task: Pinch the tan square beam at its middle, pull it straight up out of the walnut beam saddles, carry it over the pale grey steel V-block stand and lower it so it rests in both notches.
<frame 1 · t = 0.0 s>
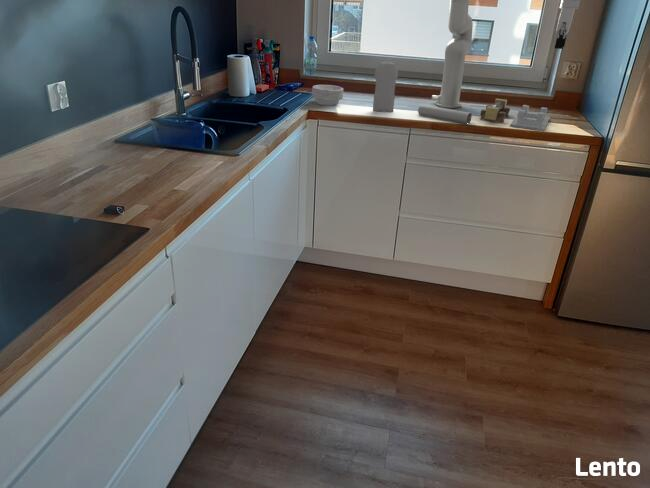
hand: (559, 47, 223), 31 cm above the worktop, tool pointing down, fingers open, 9 cm apart
tall pale column: (382, 111, 238), on the worktop
v block stand: (530, 122, 229), on the worktop
beam saddles: (494, 117, 235), on the worktop
tube: (442, 119, 229), on the worktop
tan square beam: (494, 114, 234), point 2 cm above the worktop, touching beam saddles
paper bowls: (327, 104, 249), on the worktop
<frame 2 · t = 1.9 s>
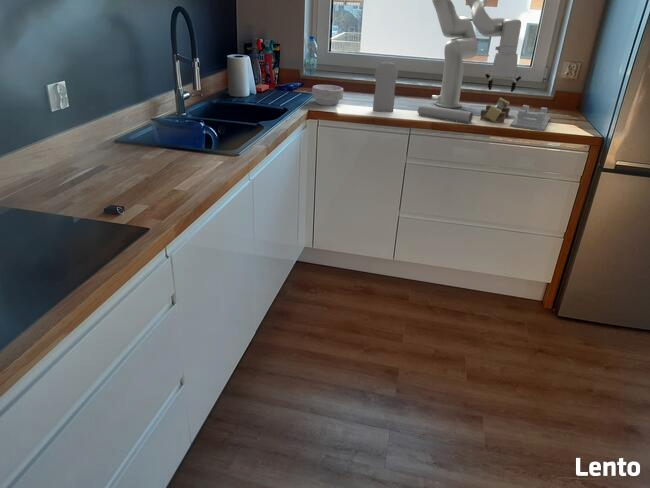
hand: (500, 90, 229), 12 cm above the worktop, tool pointing down, fingers open, 9 cm apart
tan square beam: (494, 114, 234), point 2 cm above the worktop, tilted 21°, touching beam saddles
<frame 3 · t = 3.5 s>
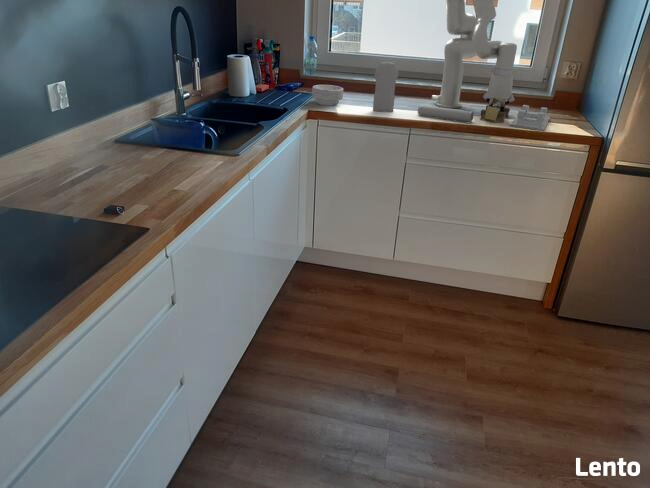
hand: (495, 113, 234), 2 cm above the worktop, tool pointing down, fingers closed on tan square beam, 4 cm apart
tan square beam: (494, 114, 234), point 2 cm above the worktop, tilted 6°, touching beam saddles, gripper
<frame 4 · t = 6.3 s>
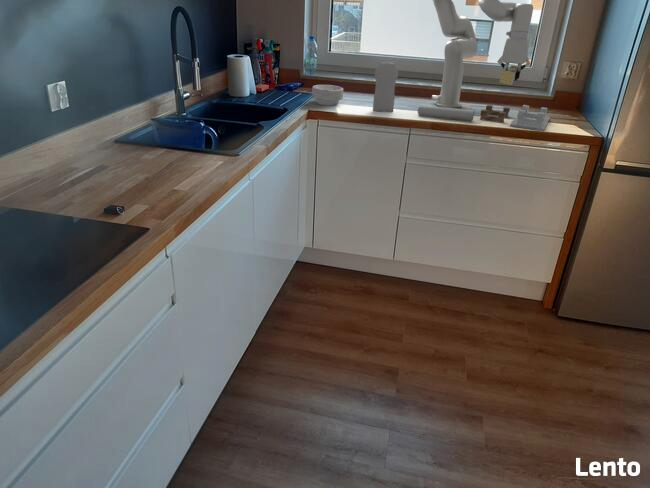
hand: (510, 79, 225), 18 cm above the worktop, tool pointing down, fingers closed on tan square beam, 4 cm apart
tan square beam: (509, 80, 226), point 17 cm above the worktop, tilted 5°, touching gripper
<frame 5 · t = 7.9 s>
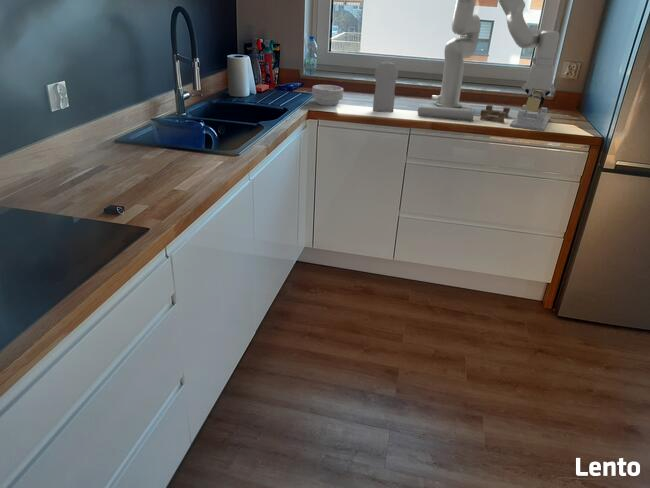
hand: (534, 104, 225), 8 cm above the worktop, tool pointing down, fingers closed on tan square beam, 4 cm apart
tan square beam: (533, 105, 225), point 8 cm above the worktop, tilted 6°, touching gripper
when the fingers open (4 cm above the worktop, at t = 9.0 s): tan square beam drops 1 cm, resting on v block stand.
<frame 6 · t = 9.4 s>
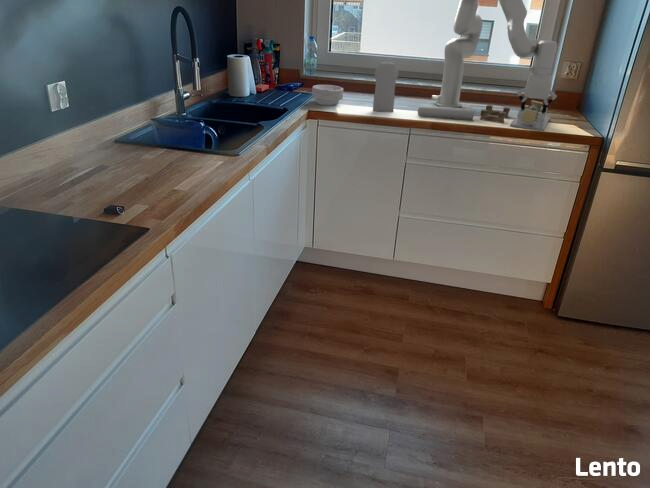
hand: (532, 112, 227), 5 cm above the worktop, tool pointing down, fingers open, 8 cm apart
tan square beam: (530, 116, 228), point 3 cm above the worktop, tilted 7°, touching v block stand
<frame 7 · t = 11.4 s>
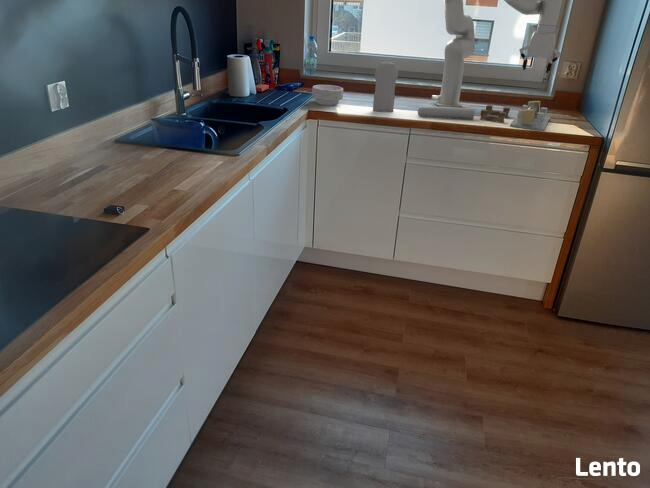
hand: (535, 71, 223), 22 cm above the worktop, tool pointing down, fingers open, 9 cm apart
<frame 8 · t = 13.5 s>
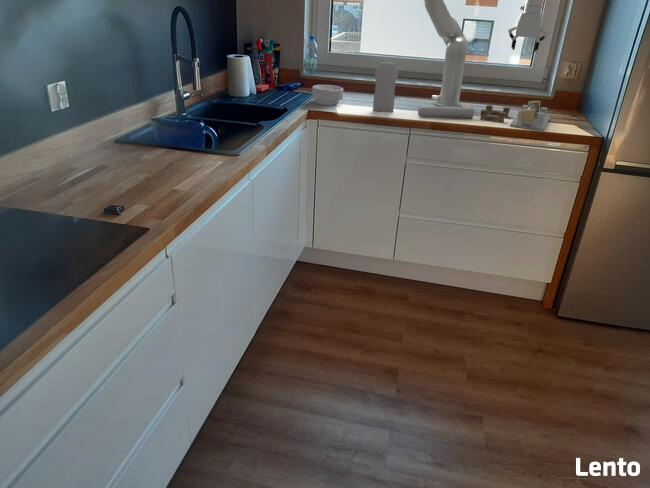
hand: (524, 50, 234), 28 cm above the worktop, tool pointing down, fingers open, 9 cm apart
at the end: tan square beam 0.3 cm off-centre on the v block stand, point 2.5 cm above the v block stand's base; tan square beam touching v block stand; the gripper is holding nothing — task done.
